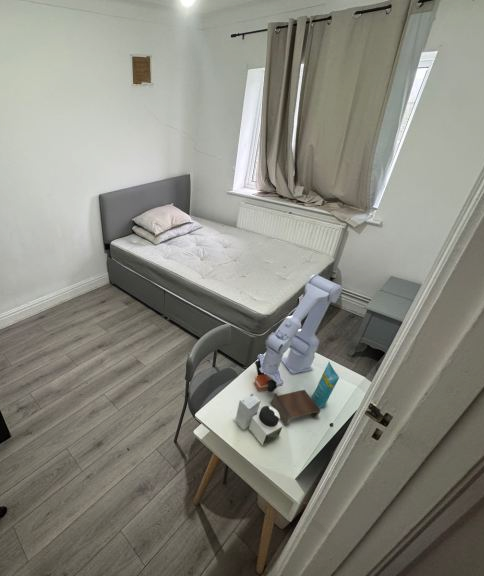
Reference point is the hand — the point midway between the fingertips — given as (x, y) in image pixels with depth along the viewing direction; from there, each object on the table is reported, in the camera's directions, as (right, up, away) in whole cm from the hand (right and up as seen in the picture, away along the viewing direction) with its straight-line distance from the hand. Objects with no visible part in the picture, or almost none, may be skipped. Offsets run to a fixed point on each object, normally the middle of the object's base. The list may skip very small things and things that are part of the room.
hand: (265, 383), depth 120 cm
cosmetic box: (-12, -10, -11) cm, 20 cm away
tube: (+17, -5, -6) cm, 19 cm away
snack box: (0, -1, +1) cm, 1 cm away
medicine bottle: (-7, -13, -15) cm, 21 cm away
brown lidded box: (+7, -7, -9) cm, 13 cm away
